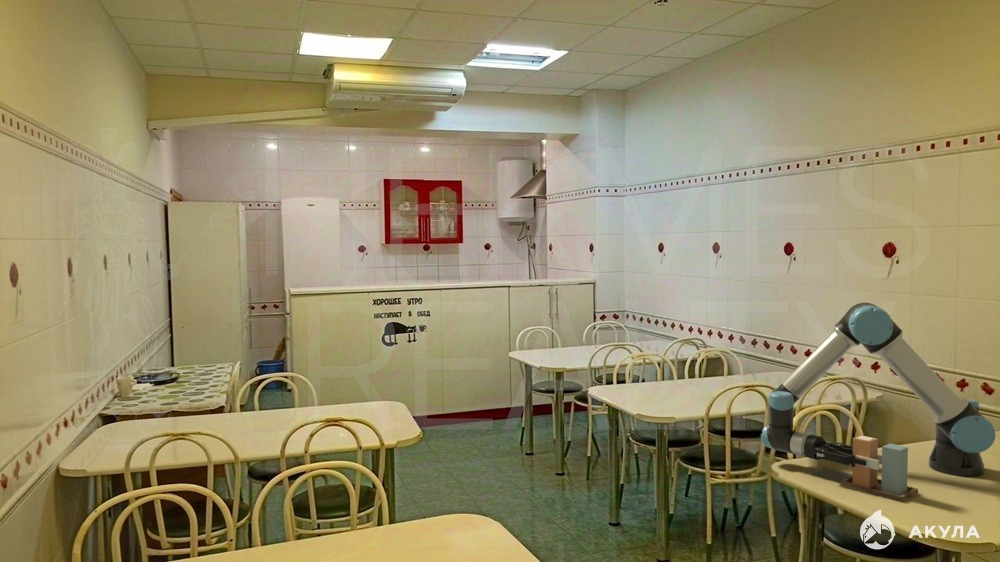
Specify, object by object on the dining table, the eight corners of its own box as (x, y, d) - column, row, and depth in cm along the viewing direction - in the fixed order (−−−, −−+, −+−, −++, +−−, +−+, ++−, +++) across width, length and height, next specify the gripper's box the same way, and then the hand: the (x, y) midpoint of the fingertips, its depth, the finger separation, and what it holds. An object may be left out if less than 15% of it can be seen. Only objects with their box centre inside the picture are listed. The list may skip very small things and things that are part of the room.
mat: (825, 469, 230) (825, 467, 230) (856, 477, 222) (856, 475, 222) (809, 476, 224) (809, 474, 224) (840, 484, 216) (840, 482, 216)
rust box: (860, 479, 217) (861, 434, 216) (877, 484, 213) (877, 438, 212) (852, 483, 214) (852, 438, 213) (869, 488, 210) (869, 441, 209)
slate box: (889, 489, 210) (890, 443, 209) (907, 494, 206) (907, 447, 205) (881, 493, 207) (882, 446, 206) (899, 498, 203) (900, 450, 202)
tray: (857, 479, 220) (857, 473, 220) (917, 495, 206) (918, 488, 206) (840, 487, 214) (840, 480, 214) (901, 504, 200) (901, 497, 200)
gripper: (823, 451, 233) (897, 469, 214) (793, 463, 222) (868, 482, 203) (823, 429, 232) (897, 444, 214) (793, 439, 222) (868, 457, 203)
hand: (883, 463), depth 209 cm, fingers closed on rust box, 5 cm apart
